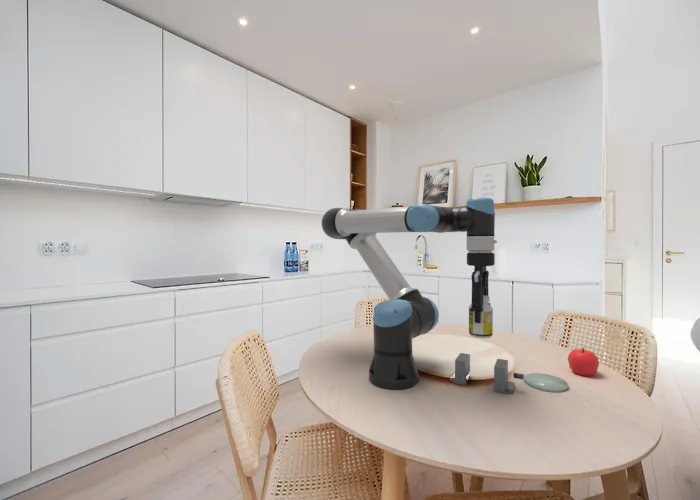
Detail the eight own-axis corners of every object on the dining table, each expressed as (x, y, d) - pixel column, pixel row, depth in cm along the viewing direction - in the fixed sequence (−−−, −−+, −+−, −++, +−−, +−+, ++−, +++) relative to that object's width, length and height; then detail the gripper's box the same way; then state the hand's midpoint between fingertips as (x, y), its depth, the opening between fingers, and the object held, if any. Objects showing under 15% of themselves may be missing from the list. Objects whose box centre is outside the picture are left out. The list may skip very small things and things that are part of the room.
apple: (567, 375, 101) (567, 349, 101) (567, 366, 108) (567, 342, 108) (600, 380, 97) (600, 353, 97) (598, 371, 104) (598, 346, 103)
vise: (449, 382, 98) (448, 358, 98) (454, 373, 104) (454, 351, 103) (522, 397, 88) (522, 371, 87) (524, 387, 94) (524, 362, 93)
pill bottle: (464, 333, 98) (464, 295, 98) (482, 331, 100) (482, 293, 100) (478, 340, 92) (478, 298, 92) (497, 337, 94) (497, 297, 94)
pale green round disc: (522, 386, 94) (522, 384, 94) (525, 373, 103) (525, 370, 103) (569, 395, 88) (569, 392, 88) (567, 380, 98) (567, 377, 98)
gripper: (489, 253, 85) (489, 341, 86) (498, 250, 102) (498, 324, 102) (459, 253, 89) (459, 337, 90) (473, 250, 105) (473, 321, 106)
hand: (480, 330), depth 96 cm, fingers closed on pill bottle, 6 cm apart
